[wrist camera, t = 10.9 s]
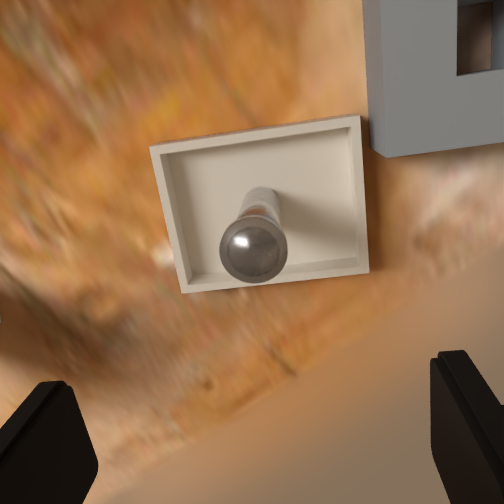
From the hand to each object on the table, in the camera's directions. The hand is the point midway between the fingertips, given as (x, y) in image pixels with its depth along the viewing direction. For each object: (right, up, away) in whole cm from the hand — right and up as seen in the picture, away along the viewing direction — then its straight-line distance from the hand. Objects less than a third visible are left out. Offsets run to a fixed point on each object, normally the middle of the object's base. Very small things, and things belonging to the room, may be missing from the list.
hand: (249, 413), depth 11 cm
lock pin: (+1, +8, +21) cm, 22 cm away
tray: (+1, +8, +21) cm, 23 cm away
